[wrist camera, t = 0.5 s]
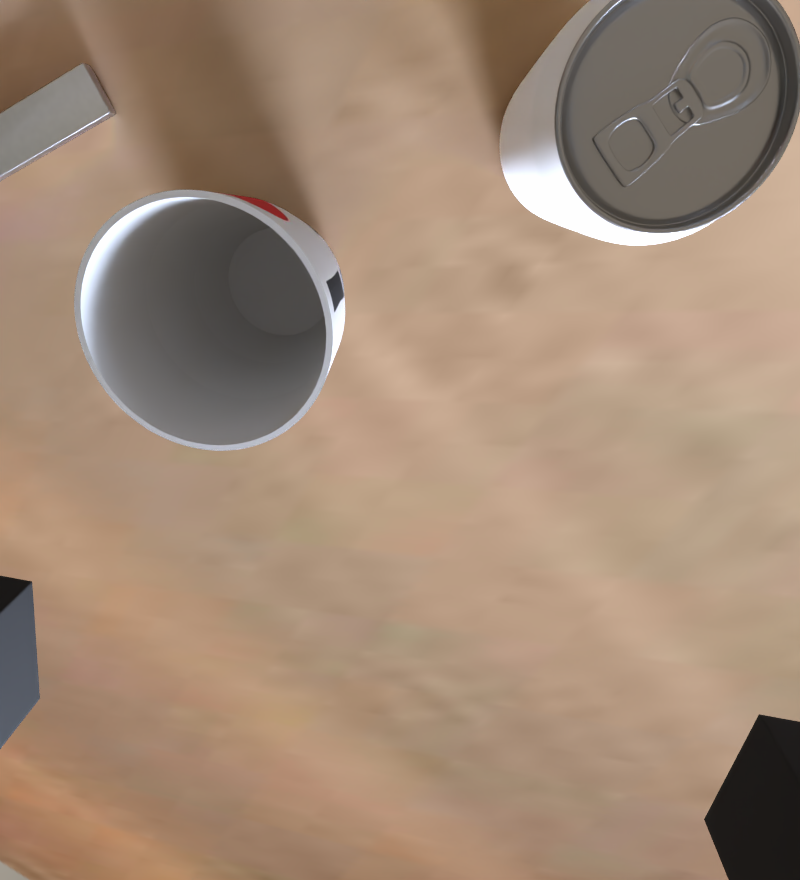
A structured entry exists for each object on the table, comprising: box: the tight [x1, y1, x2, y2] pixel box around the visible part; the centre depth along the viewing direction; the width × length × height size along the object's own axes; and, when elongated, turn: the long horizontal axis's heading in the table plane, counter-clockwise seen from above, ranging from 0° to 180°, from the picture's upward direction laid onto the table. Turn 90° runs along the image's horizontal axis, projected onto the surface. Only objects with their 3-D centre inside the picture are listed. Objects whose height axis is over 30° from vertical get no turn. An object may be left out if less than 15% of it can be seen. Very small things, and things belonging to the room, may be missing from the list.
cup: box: [74, 190, 345, 451], centre depth 24 cm, size 8×8×10 cm
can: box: [499, 0, 800, 245], centre depth 20 cm, size 6×6×12 cm
